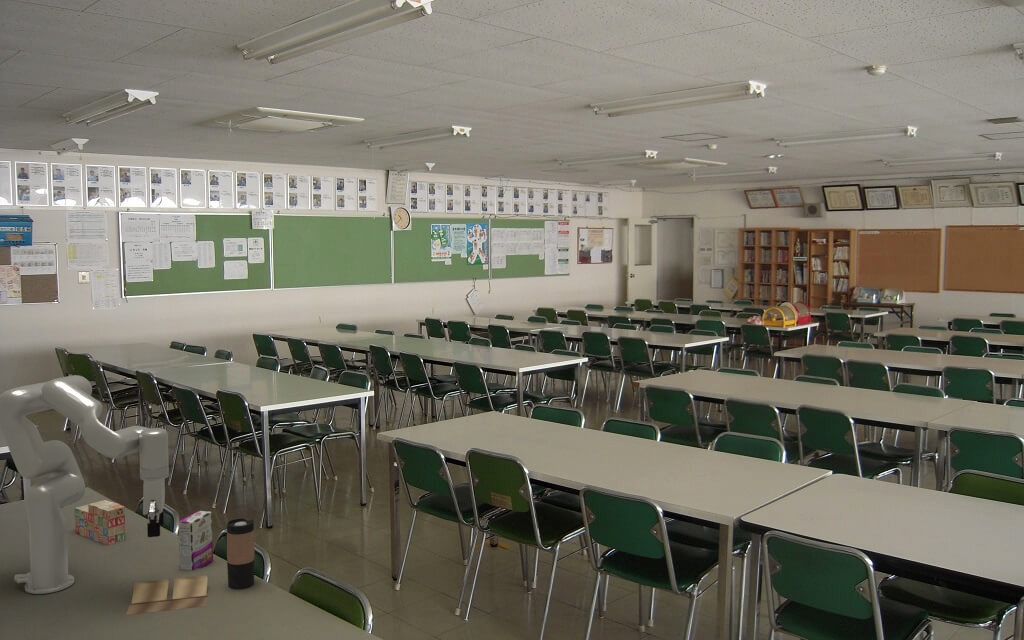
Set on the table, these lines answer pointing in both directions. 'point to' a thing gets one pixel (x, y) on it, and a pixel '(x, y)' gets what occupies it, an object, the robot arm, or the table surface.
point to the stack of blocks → (101, 521)
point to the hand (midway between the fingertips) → (155, 530)
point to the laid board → (166, 605)
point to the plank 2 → (190, 587)
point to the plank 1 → (150, 591)
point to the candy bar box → (195, 540)
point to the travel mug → (240, 553)
